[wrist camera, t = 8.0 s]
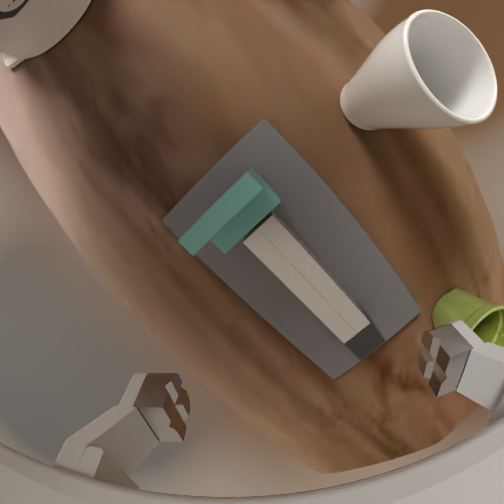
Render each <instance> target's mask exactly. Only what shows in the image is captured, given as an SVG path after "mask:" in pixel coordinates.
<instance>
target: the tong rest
mask: <svg viewBox="0 0 504 504" xmlns="http://www.w3.org/2000/svg"><path fill="white" fill-rule="evenodd" d="M252 168H253V169H254V170H255V171H256V172H257V173H258V174H259V175H260V176H261V177H262V178H263V179H264V180H265V181H266V182H267V183H268V184H269V185H270V186H271V187H272V188H273V190H274V191H275V192H276V193H277V194H278V196H279V198H280V201H281V202H280V203H279V204H278V205H277V206H276V207H275V208H274V209H273V210H274V211H275V212H276V213H277V214H278V215H279V216H280V217H281V218H282V220H283V221H284V222H285V223H286V224H287V225H288V226H289V227H290V228H291V229H292V230H293V231H294V232H295V233H296V234H297V236H298V237H299V238H300V239H301V240H302V241H303V242H304V243H305V244H306V245H307V246H308V247H309V249H310V250H311V251H312V252H313V253H314V254H315V255H316V256H317V257H318V258H319V260H320V261H321V262H322V263H323V264H324V265H325V266H326V267H327V268H328V270H329V271H330V272H331V273H332V274H333V275H334V276H335V277H336V279H337V280H338V281H339V282H340V283H341V284H342V285H343V287H344V288H345V289H346V290H347V291H348V292H349V293H350V295H351V296H352V297H353V298H354V299H355V300H356V301H357V303H358V304H359V305H360V306H361V307H362V308H363V309H364V311H365V312H366V313H367V314H368V315H369V317H370V318H371V319H372V320H373V322H374V323H375V325H376V326H377V328H378V330H379V331H380V333H381V334H382V336H383V338H384V339H385V342H386V341H387V340H388V339H389V338H391V337H392V336H393V335H394V334H395V333H397V332H398V331H399V330H400V329H401V328H403V327H404V326H405V325H406V324H407V323H408V322H410V321H411V320H412V319H413V318H414V317H415V316H416V315H417V314H418V313H420V312H421V309H420V308H419V306H418V305H417V303H416V302H415V300H414V299H413V297H412V296H411V294H410V293H409V291H408V290H407V288H406V287H405V285H404V284H403V282H402V281H401V279H400V278H399V277H398V275H397V274H396V272H395V271H394V269H393V268H392V267H391V265H390V264H389V262H388V261H387V260H386V258H385V257H384V256H383V254H382V253H381V252H380V250H379V249H378V248H377V246H376V245H375V244H374V242H373V241H372V240H371V238H370V237H369V236H368V234H367V233H366V232H365V231H364V229H363V228H362V227H361V225H360V224H359V223H358V222H357V220H356V219H355V218H354V217H353V215H352V214H351V213H350V212H349V210H348V209H347V208H346V207H345V206H344V204H343V203H342V202H341V201H340V200H339V198H338V197H337V196H336V195H335V194H334V193H333V191H332V190H331V189H330V188H329V187H328V186H327V184H326V183H325V182H324V181H323V180H322V179H321V178H320V176H319V175H318V174H317V173H316V172H315V171H314V170H313V169H312V167H311V166H310V165H309V164H308V163H307V162H306V161H305V160H304V159H303V158H302V157H301V155H300V154H299V153H298V152H297V151H296V150H295V149H294V148H293V147H292V146H291V145H290V144H289V143H288V142H287V141H286V140H285V139H284V138H283V137H282V136H281V134H280V133H279V132H278V131H277V130H276V129H275V128H274V127H273V126H272V125H271V124H270V123H269V122H268V121H267V120H266V119H265V118H264V119H262V120H261V121H260V122H259V123H258V124H257V125H256V126H255V127H254V128H253V129H251V130H250V131H249V132H248V133H247V134H246V135H245V136H244V137H243V138H242V139H241V140H240V141H239V142H237V143H236V144H235V145H234V146H233V147H232V148H231V149H230V150H229V151H228V152H227V153H226V154H225V155H224V156H223V157H222V158H221V159H220V160H219V161H218V162H217V163H216V164H215V165H214V166H213V167H212V168H211V169H210V170H209V171H208V172H207V173H206V174H205V175H204V176H203V177H202V178H201V179H200V180H199V181H198V182H197V183H196V184H195V185H194V186H193V187H192V188H191V189H190V190H189V191H188V193H187V194H186V195H185V196H184V197H183V198H182V199H181V200H180V201H179V202H178V203H177V204H176V205H175V206H174V208H173V209H172V210H171V211H170V212H169V213H168V214H167V215H166V216H165V218H164V219H163V220H162V222H163V223H164V224H165V225H166V226H167V227H168V228H169V229H170V230H171V231H172V232H173V233H174V234H175V235H176V236H177V237H178V238H179V239H180V238H181V237H182V236H183V235H184V234H185V233H186V232H187V231H188V230H189V229H190V228H191V227H192V226H193V225H194V224H195V223H196V222H197V221H198V220H199V219H200V218H201V217H202V216H203V215H204V214H205V212H206V211H207V210H208V209H209V208H210V207H211V206H212V205H213V204H214V203H215V202H216V201H217V200H218V199H219V198H220V197H221V196H223V195H224V194H225V193H226V192H227V191H228V190H229V189H230V188H231V187H232V186H233V185H234V184H235V183H236V182H237V181H238V180H239V179H240V178H241V177H242V176H243V175H244V174H245V173H246V172H247V171H249V170H250V169H252ZM243 239H244V237H243V238H241V239H240V240H239V241H238V242H237V243H236V244H235V245H234V246H233V247H232V248H231V249H230V250H229V251H228V252H227V253H225V254H224V253H223V252H222V251H221V250H220V249H219V248H218V247H217V246H216V245H215V244H214V243H213V242H212V241H211V240H209V241H208V242H207V243H206V244H205V245H204V246H203V247H202V248H201V249H200V250H199V251H198V252H197V253H196V254H195V255H196V256H197V257H198V258H199V259H200V260H202V261H203V262H204V263H205V264H206V265H207V266H208V267H209V268H210V269H211V270H212V271H213V272H214V273H215V274H216V275H217V276H218V277H219V278H220V279H221V280H223V281H224V282H225V283H226V284H227V285H228V286H229V287H230V288H231V289H232V290H233V291H234V292H235V293H236V294H237V295H239V296H240V297H241V298H242V299H243V300H244V301H245V302H246V303H247V304H248V305H249V306H251V307H252V308H253V309H254V310H255V311H256V312H257V313H258V314H259V315H260V316H261V317H263V318H264V319H265V320H266V321H267V322H268V323H269V324H270V325H271V326H273V327H274V328H275V329H276V330H277V331H278V332H279V333H280V334H282V335H283V336H284V337H285V338H286V339H287V340H288V341H289V342H291V343H292V344H293V345H294V346H295V347H296V348H297V349H299V350H300V351H301V352H302V353H303V354H304V355H305V356H307V357H308V358H309V359H310V360H311V361H312V362H314V363H315V364H316V365H317V366H318V367H319V368H321V369H322V370H323V371H324V372H325V373H326V374H328V375H329V376H330V377H331V378H332V379H336V378H337V377H339V376H340V375H342V374H343V373H345V372H346V371H347V370H349V369H350V368H352V367H353V366H354V365H356V364H357V363H359V362H360V361H361V360H360V359H359V358H358V357H357V356H356V355H355V354H354V353H353V352H352V351H351V350H350V349H349V348H348V347H347V346H346V345H345V344H344V343H343V342H342V341H341V340H340V339H339V338H338V337H337V336H336V335H335V334H334V333H333V332H332V331H331V330H330V329H329V328H328V327H327V326H326V325H325V324H324V323H323V322H322V321H321V320H320V319H319V318H318V317H317V316H316V315H315V314H314V313H313V312H312V311H311V310H310V309H309V308H308V307H307V306H306V305H305V304H304V303H303V302H302V301H301V300H300V299H299V298H298V297H297V296H296V295H295V294H294V293H293V292H292V291H291V290H290V289H289V288H288V287H287V286H286V285H285V284H284V283H283V282H282V281H281V280H280V279H279V278H278V277H277V276H276V275H275V274H274V273H273V272H272V271H271V270H270V269H269V268H268V267H267V266H266V265H265V264H264V263H263V262H262V261H261V260H260V259H259V258H258V257H257V256H256V255H255V254H254V253H253V252H252V251H251V250H250V249H249V248H248V247H247V246H246V245H245V244H244V243H243ZM385 342H384V343H385ZM382 344H383V343H382ZM382 344H381V345H382ZM381 345H380V346H381ZM377 348H378V347H377ZM377 348H376V349H377ZM376 349H375V350H376ZM373 351H374V350H373ZM373 351H372V352H373ZM372 352H371V353H372ZM368 355H369V354H368ZM368 355H367V356H368ZM367 356H366V357H367ZM364 358H365V357H364ZM364 358H363V359H364ZM363 359H362V360H363Z"/></svg>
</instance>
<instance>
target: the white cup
mask: <svg viewBox="0 0 504 504" xmlns="http://www.w3.org/2000/svg"><path fill="white" fill-rule="evenodd" d="M496 100H497V81H496V75H495V72H494V68H493V66H492V63H491V60H490V58H489V56H488V54H487V53H486V51H485V49H484V47H483V46H482V44H481V43H480V41H479V40H478V39H477V38H476V37H475V35H474V34H473V33H472V32H471V31H470V30H469V29H468V28H467V27H466V26H465V25H463V24H462V23H461V22H460V21H458V20H457V19H455V18H453V17H452V16H450V15H448V14H445V13H443V12H440V11H436V10H421V11H417V12H415V13H413V14H412V15H411V16H409V17H408V18H406V19H405V20H404V21H402V22H401V23H400V24H398V25H397V26H396V27H395V28H393V29H392V30H391V31H390V32H389V33H388V34H387V35H386V36H385V37H384V38H383V39H382V40H381V41H380V42H379V43H378V44H377V46H376V47H375V48H374V49H373V51H372V52H371V53H370V55H369V56H368V57H367V59H366V60H365V61H364V63H363V64H362V65H361V67H360V68H359V69H358V71H357V72H356V73H355V75H354V76H353V77H352V78H351V80H350V81H348V82H347V83H346V84H345V86H344V87H343V89H342V91H341V94H340V105H341V109H342V111H343V114H344V115H345V117H346V118H347V119H348V120H349V121H350V122H351V123H352V124H353V125H354V126H356V127H358V128H360V129H363V130H369V131H372V130H378V129H440V128H451V127H458V126H464V125H469V124H476V123H479V122H482V121H484V120H485V119H487V118H488V117H489V116H490V115H491V113H492V111H493V110H494V107H495V104H496Z"/></svg>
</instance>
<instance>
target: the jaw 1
mask: <svg viewBox="0 0 504 504" xmlns="http://www.w3.org/2000/svg"><path fill="white" fill-rule="evenodd" d="M243 243H244V244H245V245H246V246H247V247H248V248H249V249H250V250H251V251H252V252H253V253H254V254H255V255H256V256H257V257H258V258H259V259H260V260H261V261H262V262H263V263H264V264H265V265H266V266H267V267H268V268H269V269H270V270H271V271H272V272H273V273H274V274H275V275H276V276H277V277H278V278H279V279H280V280H281V281H282V282H283V283H284V284H285V285H286V286H287V287H288V288H289V289H290V290H291V291H292V292H293V293H294V294H295V295H296V296H297V297H298V298H299V299H300V300H301V301H302V302H303V303H304V304H305V305H306V306H307V307H308V308H309V309H310V310H311V311H312V312H313V313H314V314H315V315H316V316H317V317H318V318H319V319H320V320H321V321H322V322H323V323H324V324H325V325H326V326H327V327H328V328H329V329H330V330H331V331H332V332H333V333H334V334H335V335H336V336H337V337H338V338H339V339H340V340H341V341H342V342H343V343H344V344H345V345H346V346H347V347H348V348H349V349H350V350H351V351H352V352H353V353H354V354H355V355H356V356H357V357H358V358H359V359H360V360H362V359H363V358H364V357H366V356H367V355H368V354H370V353H371V352H372V351H373V350H372V349H371V348H370V347H369V346H368V345H367V344H366V342H365V341H364V340H363V339H362V338H361V337H360V336H359V335H358V334H357V333H356V332H355V330H354V329H353V328H352V327H351V326H350V325H349V324H348V323H347V322H346V321H345V320H344V319H343V318H342V317H341V315H340V314H339V313H338V312H337V311H336V310H335V309H334V308H333V307H332V306H331V305H330V304H329V303H328V302H327V301H326V300H325V298H324V297H323V296H322V295H321V294H320V293H319V292H318V291H317V290H316V289H315V288H314V287H313V286H312V285H311V284H310V283H309V282H308V281H307V280H306V278H305V277H304V276H303V275H302V274H301V273H300V272H299V271H298V270H297V269H296V268H295V267H294V266H293V265H292V264H291V263H290V262H289V261H288V260H287V259H286V258H285V257H284V256H283V255H282V254H281V252H280V251H279V250H278V249H277V248H276V247H275V246H274V245H273V244H272V243H271V242H270V241H269V240H268V239H267V238H266V237H265V236H264V235H263V234H262V233H261V232H260V231H259V230H258V224H256V225H255V226H254V227H253V228H252V229H251V230H250V231H249V232H248V233H247V234H246V235H245V236H244V239H243Z"/></svg>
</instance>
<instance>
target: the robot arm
mask: <svg viewBox="0 0 504 504" xmlns="http://www.w3.org/2000/svg"><path fill="white" fill-rule="evenodd" d="M90 2H91V0H0V54H2V55H3V59H4V62H5V65H6V67H8V68H14V67H15V66H17V65H18V64H19V63H21V62H22V61H23V60H25V59H27V58H32V57H35V56H38V55H40V54H42V53H44V52H45V51H47V50H49V49H50V48H51V47H53V46H54V45H55V44H56V43H58V42H59V41H60V40H61V39H62V38H63V37H64V36H65V35H66V34H67V33H68V32H69V31H70V30H71V29H72V28H73V27H74V25H75V24H76V23H77V22H78V20H79V19H80V18H81V16H82V15H83V14H84V12H85V11H86V9H87V7H88V6H89V4H90ZM421 342H422V343H423V345H424V346H423V347H422V348H421V350H420V351H419V355H418V365H419V369H420V371H421V373H422V375H423V376H424V377H426V378H428V379H430V381H429V386H430V387H431V389H432V391H433V392H434V394H435V395H436V397H439V396H442V395H445V394H447V393H450V392H452V391H454V390H456V391H457V392H459V393H461V394H463V395H464V396H466V397H468V398H470V399H471V400H473V401H475V402H476V403H478V404H480V405H482V406H484V407H485V408H487V409H489V410H490V411H492V412H493V414H492V416H491V417H490V419H489V421H488V423H487V428H485V429H483V430H482V431H480V432H478V433H476V434H474V435H473V436H471V437H469V438H467V439H465V440H463V441H461V442H459V443H457V444H455V445H453V446H451V447H449V448H447V449H445V450H443V451H441V452H439V453H436V454H434V455H432V456H429V457H427V458H425V459H422V460H420V461H417V462H414V463H412V464H409V465H407V466H404V467H401V468H398V469H395V470H392V471H389V472H386V473H383V474H380V475H376V476H373V477H369V478H366V479H362V480H359V481H354V482H351V483H346V484H342V485H337V486H332V487H327V488H322V489H317V490H310V491H304V492H297V493H289V494H280V495H269V496H252V497H204V496H188V495H175V494H167V493H159V492H152V491H146V490H140V489H139V487H138V485H137V484H136V483H135V482H134V481H133V480H132V479H131V478H129V476H128V475H129V474H130V473H131V472H132V471H133V470H134V469H135V468H136V467H137V466H138V465H139V464H140V463H141V462H142V461H143V460H144V459H145V458H146V457H147V455H149V453H150V452H151V451H152V450H153V449H154V448H155V447H156V446H157V445H158V444H159V443H160V442H159V441H166V442H183V441H184V436H185V432H186V425H185V423H184V420H185V419H187V418H188V417H189V412H190V401H189V397H188V394H187V392H186V390H184V389H182V388H181V383H182V381H181V378H180V376H179V375H178V374H176V373H136V374H134V375H133V376H132V378H131V380H130V382H129V385H128V387H127V389H126V391H125V393H124V395H123V397H122V400H121V402H120V404H119V406H114V407H112V408H111V409H109V410H108V411H107V412H105V413H104V414H102V415H101V416H100V417H98V418H97V419H95V420H94V421H92V422H91V423H90V424H88V425H87V426H85V427H84V428H82V429H81V430H80V431H78V432H76V433H75V434H74V435H72V436H70V437H69V438H67V439H66V441H65V443H64V445H63V447H62V449H61V451H60V453H59V455H58V457H57V459H56V461H55V463H54V465H53V466H52V465H49V464H46V463H44V462H41V461H39V460H37V459H34V458H32V457H30V456H28V455H25V454H23V453H21V452H19V451H17V450H15V449H12V448H11V447H9V446H7V445H5V444H3V443H1V442H0V504H504V347H502V346H499V345H496V344H492V343H489V342H487V343H484V342H483V341H482V340H481V339H480V338H479V337H478V336H477V335H476V334H475V333H474V332H473V331H472V330H471V329H470V328H469V327H468V326H467V325H466V324H465V323H464V322H463V321H462V320H456V321H453V322H450V323H448V324H446V325H443V326H440V327H437V328H434V329H431V330H428V331H425V332H424V333H423V335H422V340H421Z"/></svg>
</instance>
